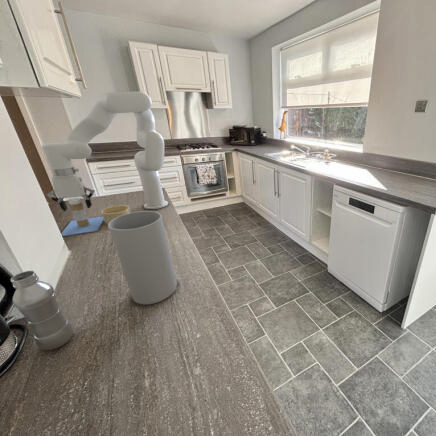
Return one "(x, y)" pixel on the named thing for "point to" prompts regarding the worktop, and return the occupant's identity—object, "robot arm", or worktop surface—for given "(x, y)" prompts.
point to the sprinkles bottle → (79, 212)
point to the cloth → (92, 227)
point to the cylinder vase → (144, 255)
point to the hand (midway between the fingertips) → (77, 208)
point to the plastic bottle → (41, 310)
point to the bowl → (114, 212)
